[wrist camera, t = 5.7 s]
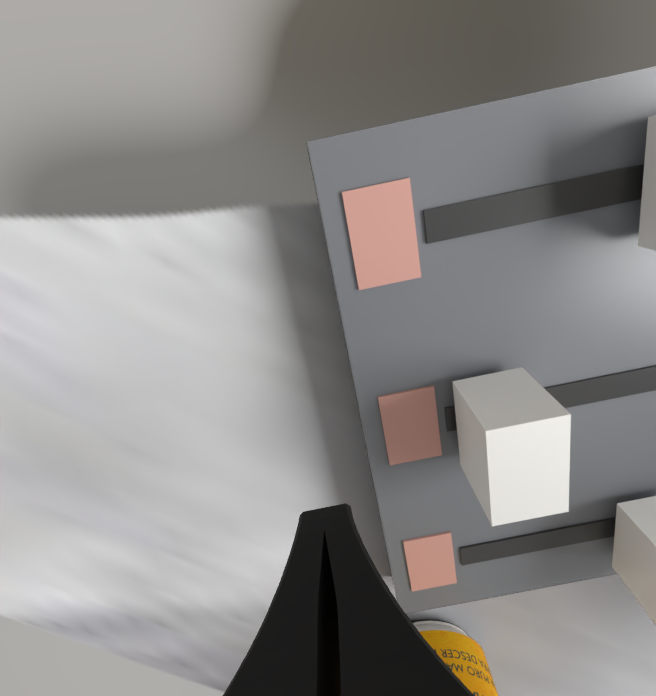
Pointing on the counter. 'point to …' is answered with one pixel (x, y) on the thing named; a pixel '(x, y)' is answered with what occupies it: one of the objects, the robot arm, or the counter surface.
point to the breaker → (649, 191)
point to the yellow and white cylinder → (459, 655)
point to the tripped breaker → (513, 445)
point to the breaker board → (497, 319)
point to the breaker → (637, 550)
